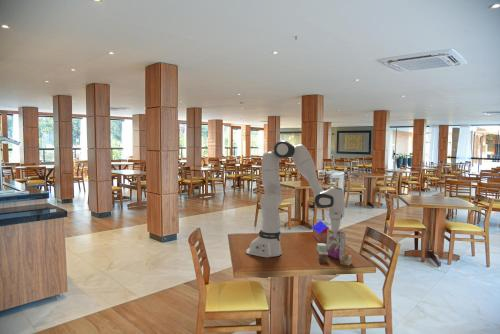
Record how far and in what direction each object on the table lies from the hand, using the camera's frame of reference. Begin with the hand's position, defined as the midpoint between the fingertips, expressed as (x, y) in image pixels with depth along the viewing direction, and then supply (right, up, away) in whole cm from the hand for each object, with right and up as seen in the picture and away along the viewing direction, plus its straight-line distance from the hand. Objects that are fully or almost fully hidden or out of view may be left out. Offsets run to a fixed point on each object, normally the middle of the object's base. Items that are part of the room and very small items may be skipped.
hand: (336, 235), depth 210 cm
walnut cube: (-10, -14, -8) cm, 18 cm away
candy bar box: (0, -13, +1) cm, 13 cm away
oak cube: (+3, -14, -12) cm, 18 cm away
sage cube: (-7, -13, +10) cm, 18 cm away
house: (+1, -11, +41) cm, 43 cm away
